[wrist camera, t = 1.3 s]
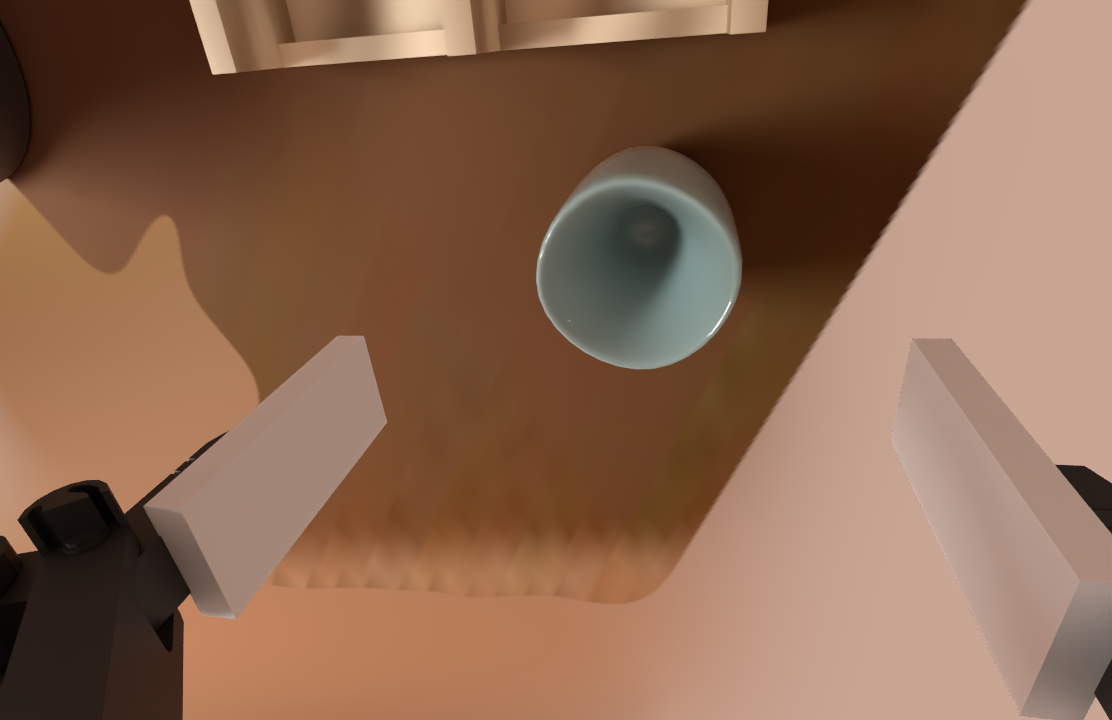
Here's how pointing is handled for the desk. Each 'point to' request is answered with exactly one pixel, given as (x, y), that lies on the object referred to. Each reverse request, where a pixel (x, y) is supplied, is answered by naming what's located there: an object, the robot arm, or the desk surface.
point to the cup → (641, 260)
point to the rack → (443, 27)
